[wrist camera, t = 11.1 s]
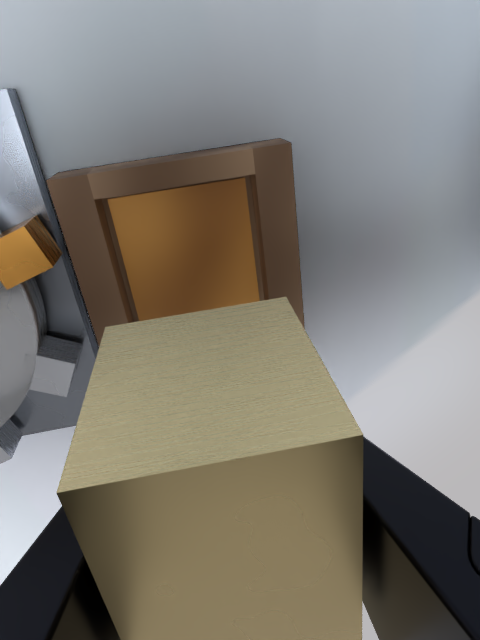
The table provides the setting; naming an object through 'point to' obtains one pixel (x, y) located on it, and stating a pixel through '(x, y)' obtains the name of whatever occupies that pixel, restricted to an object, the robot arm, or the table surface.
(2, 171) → the sprocket base
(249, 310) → the tan rectangular block
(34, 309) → the sprocket
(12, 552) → the table surface
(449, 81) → the table surface
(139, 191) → the brown open tray
